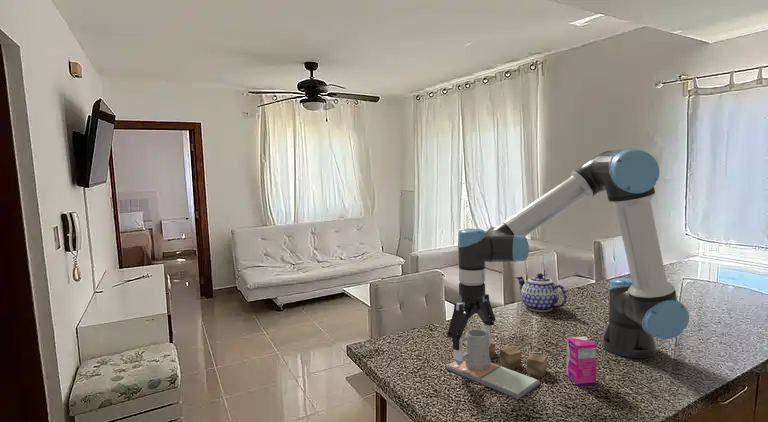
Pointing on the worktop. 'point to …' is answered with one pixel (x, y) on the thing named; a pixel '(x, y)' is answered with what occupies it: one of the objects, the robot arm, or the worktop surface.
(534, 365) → the walnut block
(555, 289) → the teapot
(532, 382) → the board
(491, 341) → the walnut block
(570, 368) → the supplement box
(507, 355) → the walnut block
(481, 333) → the mug
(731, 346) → the worktop surface
